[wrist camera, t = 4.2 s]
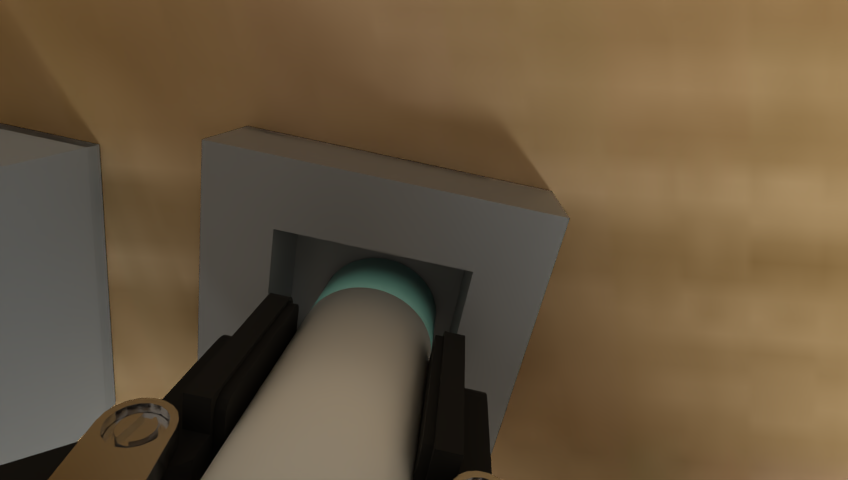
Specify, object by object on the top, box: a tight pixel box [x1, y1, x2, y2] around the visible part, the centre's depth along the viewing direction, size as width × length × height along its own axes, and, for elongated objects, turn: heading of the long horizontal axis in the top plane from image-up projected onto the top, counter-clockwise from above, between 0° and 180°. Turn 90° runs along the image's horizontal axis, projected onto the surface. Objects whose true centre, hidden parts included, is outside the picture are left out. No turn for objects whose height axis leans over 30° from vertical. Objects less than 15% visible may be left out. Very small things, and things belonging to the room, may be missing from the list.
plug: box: [200, 258, 436, 480], centre depth 10 cm, size 4×4×10 cm
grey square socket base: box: [198, 126, 570, 455], centre depth 14 cm, size 9×9×2 cm
